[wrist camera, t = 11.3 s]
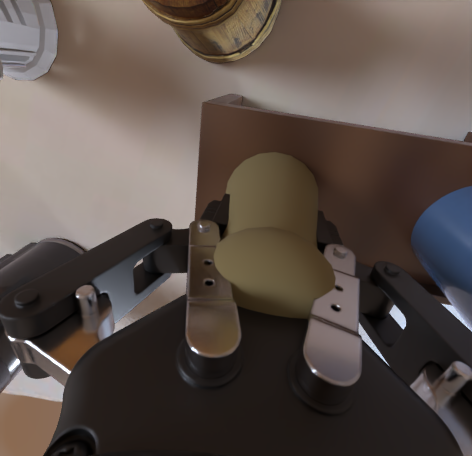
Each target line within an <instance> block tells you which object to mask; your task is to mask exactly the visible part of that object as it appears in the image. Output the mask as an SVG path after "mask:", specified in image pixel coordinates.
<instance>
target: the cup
mask: <svg viewBox="0 0 472 456" xmlns="http://www.w3.org/2000/svg"><path fill="white" fill-rule="evenodd" d="M411 247H412V251H413V253H414V255H415V257H416V258H417V260H418V261H419V262H420V264H421V265H422V266H423V268H424V269H425V270H426V271H427V273H428V274H429V275H430V277H431V278H432V279H433V281H434V282H435V283H436V284H437V286H438V287H439V288H440V290H441V291H442V292H443V294H444V295H445V296H446V298H447V299H448V300H449V301H450V303H451V304H452V305H453V307H454V308H455V309H456V311H457V312H458V313H459V314H460V316H461V317H462V318H463V320H464V321H465V322H466V324H467V325H468V326H469V327H470V329H471V330H472V186H469V187H465V188H462V189H458V190H456V191H453V192H451V193H449V194H447V195H445V196H443V197H442V198H440V199H439V200H437V201H436V202H434V203H433V204H432V205H431V206H429V207H428V208H427V209H426V210H425V211H424V212H423V214H422V215H421V216H420V217H419V219H418V220H417V222H416V224H415V226H414V228H413V231H412V235H411Z"/></svg>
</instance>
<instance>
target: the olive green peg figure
mask: <svg viewBox="0 0 472 456" xmlns="http://www.w3.org/2000/svg"><path fill="white" fill-rule="evenodd" d="M226 194H230V204H229V220H228V224H227V227H226V229H225V231H224V232H223V234H222V236H221V241H220V242H219V243H218V244H216V245H215V246H217V247H216V250H215V252H214V262H215V267H216V268H217V269H218V271H219V272H220V274H221V275H222V276H223V277H224V278H225V279H227V280H229V281H230V282H231V288H232V294H233V299H234V300H235V301H236V304H237V306H240V307H243V308H246V309H249V310H253V311H257V312H261V313H265V314H270V315H276V316H282V317H289V318H301V319H307V317H308V314H309V311H310V309H311V306H312V303H313V300H314V298H321V297H322V296H324V295H325V294H327V293H328V292H330V291H332V290H333V289H334V288H335V289H336V287H335V280H336V278H335V274H334V271H333V268H332V265H331V264H330V263H329V262H328V260H327V259H326V258H325V257H324V256H323V254H322V253H321V252H320V251H319V250H318V249H317V238H316V231H317V216H318V186H317V183H316V181H315V178H314V175H313V174H312V173H311V171H310V170H309V169H308V168H307V166H306V165H305V164H304V163H302V162H301V161H299V160H297V159H296V158H294V157H292V156H291V155H287V154H282V153H277V152H270V153H260V154H257V155H255V156H253V157H251V158H248V159H246V160H245V161H243V162H242V163H241V164H240V165H239V166H238V167H237V168H236V169H235V170H234V171H233V173H232V175H231V177H230V179H229V180H228V182H227V188H226ZM210 265H211V264H210ZM336 290H337V289H336Z"/></svg>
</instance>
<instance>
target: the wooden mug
mask: <svg viewBox="0 0 472 456" xmlns="http://www.w3.org/2000/svg"><path fill="white" fill-rule="evenodd" d="M142 1H143V2H144V4H145V5H146V6H147V8H148V9H149V10H150V11H151V12H152V13H154V14H155V15H156V16H157V17H158V18H160V19H161V20H162V21H163V22H165V23H167V24H169V25H171V26H172V27H173V29H174V30H175V32H176V34H177V35H178V37H179V38H180V40H181V41H182V42H183V44H184V45H185V46H186V47H188V48H189V49H190V50H191V51H192V52H193V53H194V54H195V55H197V56H199V57H200V58H202V59H204V60H206V61H209V62H218V63H223V62H229V61H235V60H237V59H240V58H242V57H245V56H246V55H248V54H249V53H251V52H252V51H253V50H255V49H256V48H258V47H259V46H260V44H261V43H262V42H263V41H264V40H265V38H266V37H267V36H268V35H269V33H270V32H271V30H272V27H273V25H274V22H275V20H276V18H277V15H278V13H279V9H280V6H281V2H282V0H142Z"/></svg>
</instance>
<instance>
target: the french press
mask: <svg viewBox="0 0 472 456" xmlns="http://www.w3.org/2000/svg"><path fill="white" fill-rule="evenodd" d="M57 40H58V29H57V25H56V21H55V17H54V13H53V8H52V4H51V2H50V0H0V80H1V79H3V74H5V75H7V76H9V77H11V78H13V79H15V80H34V79H36V78H38V77H40V76H41V75H43V74H45V73H47V72H48V70H49V68H50V66H51V65H52V63H53V61H54V59H55V57H56V55H57Z"/></svg>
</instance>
